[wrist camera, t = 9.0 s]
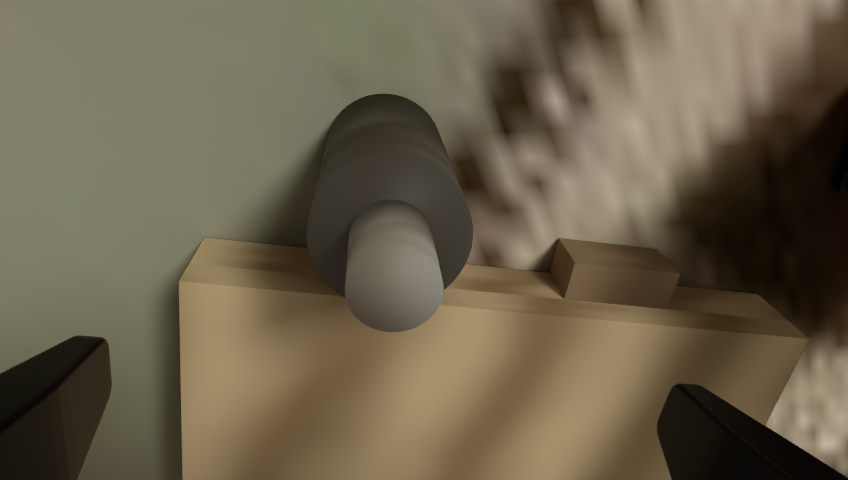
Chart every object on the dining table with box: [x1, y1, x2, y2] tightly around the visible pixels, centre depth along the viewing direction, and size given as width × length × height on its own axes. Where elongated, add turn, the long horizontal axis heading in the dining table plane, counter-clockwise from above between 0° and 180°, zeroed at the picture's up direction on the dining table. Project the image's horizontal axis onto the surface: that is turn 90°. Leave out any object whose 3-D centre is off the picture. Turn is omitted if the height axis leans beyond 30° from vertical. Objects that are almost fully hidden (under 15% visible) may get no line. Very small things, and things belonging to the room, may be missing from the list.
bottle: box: [306, 94, 473, 332], centre depth 16 cm, size 4×4×10 cm
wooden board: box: [179, 238, 809, 480], centre depth 25 cm, size 22×19×3 cm
